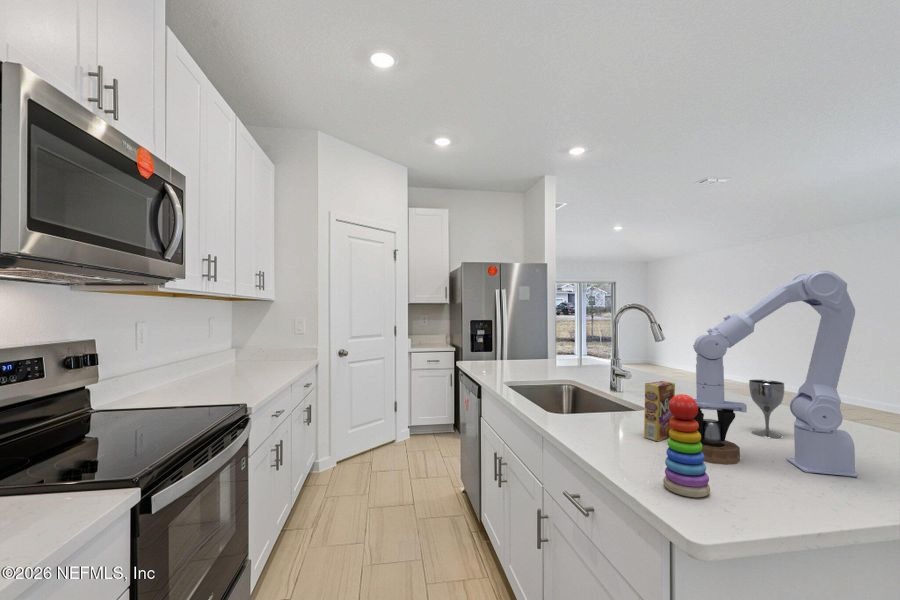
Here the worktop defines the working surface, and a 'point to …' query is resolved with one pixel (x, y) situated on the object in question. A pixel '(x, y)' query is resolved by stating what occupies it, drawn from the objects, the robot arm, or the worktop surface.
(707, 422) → the steel peg
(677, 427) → the stacking toy
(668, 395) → the candy box
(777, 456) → the worktop surface
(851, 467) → the robot arm
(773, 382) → the wine glass
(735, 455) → the walnut bead
